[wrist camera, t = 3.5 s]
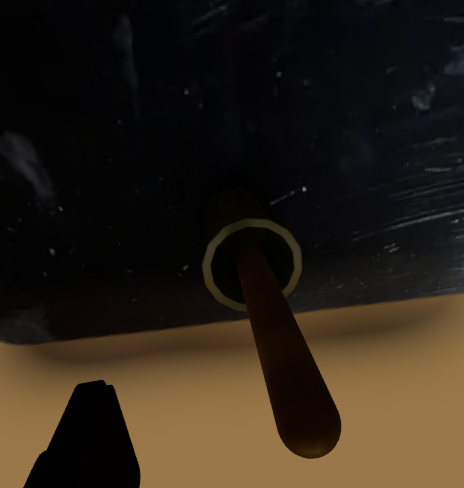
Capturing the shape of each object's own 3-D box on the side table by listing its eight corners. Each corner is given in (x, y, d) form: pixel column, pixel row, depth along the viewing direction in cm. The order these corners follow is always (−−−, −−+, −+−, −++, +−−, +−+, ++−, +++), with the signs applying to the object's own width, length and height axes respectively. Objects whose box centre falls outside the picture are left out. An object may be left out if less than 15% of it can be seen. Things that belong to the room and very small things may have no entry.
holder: (207, 262, 24) (212, 320, 17) (194, 192, 22) (194, 227, 16) (276, 250, 24) (306, 303, 17) (268, 180, 23) (297, 209, 16)
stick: (228, 237, 23) (287, 479, 8) (224, 215, 22) (280, 429, 7) (250, 233, 23) (352, 467, 8) (247, 211, 23) (349, 416, 7)
